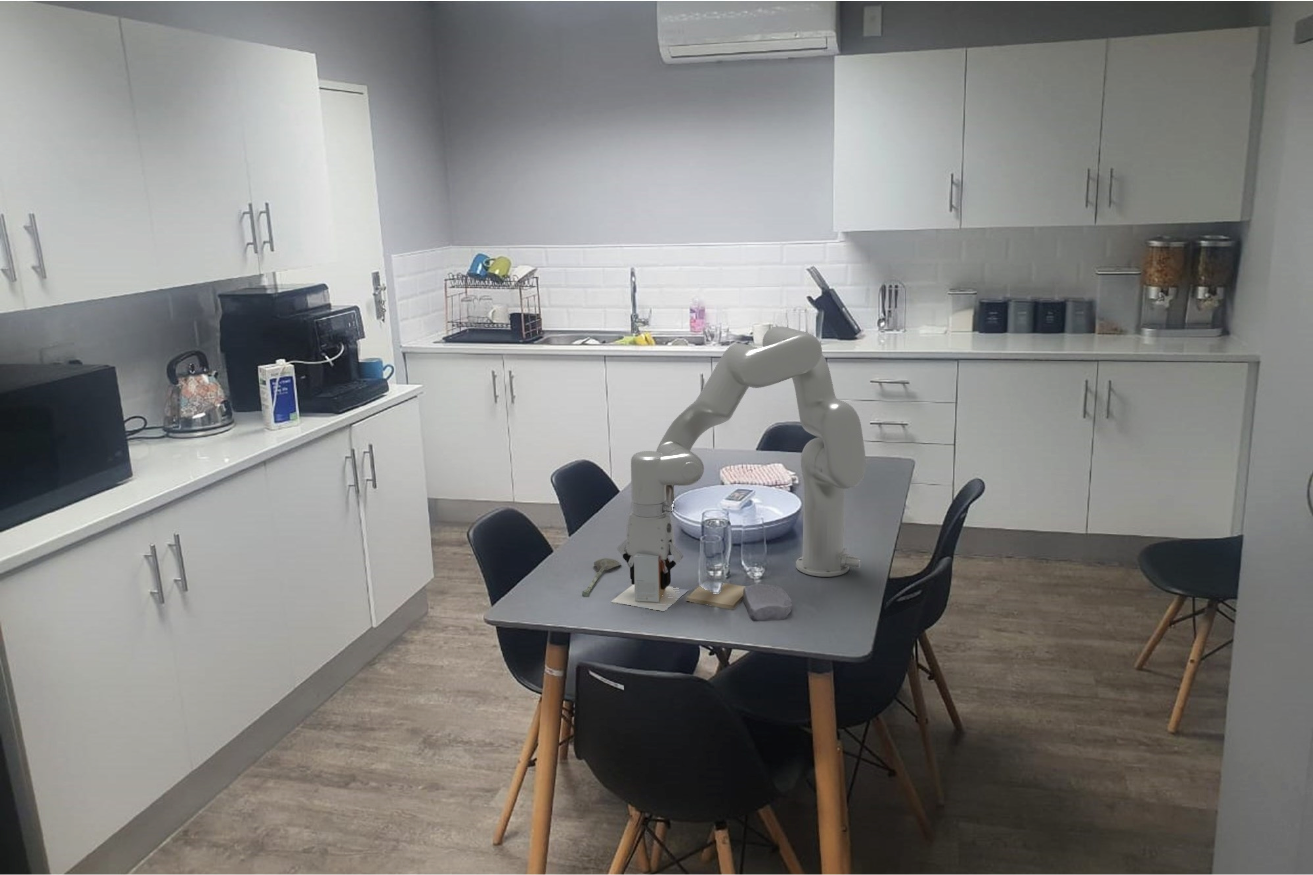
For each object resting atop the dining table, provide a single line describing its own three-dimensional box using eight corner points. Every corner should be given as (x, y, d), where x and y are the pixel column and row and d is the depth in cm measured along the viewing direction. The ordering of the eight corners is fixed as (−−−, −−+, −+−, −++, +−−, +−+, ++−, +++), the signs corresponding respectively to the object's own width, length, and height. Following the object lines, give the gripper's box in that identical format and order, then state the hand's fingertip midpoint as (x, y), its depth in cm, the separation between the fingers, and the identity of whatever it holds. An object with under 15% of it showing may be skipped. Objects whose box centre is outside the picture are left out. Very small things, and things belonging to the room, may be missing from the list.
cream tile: (689, 590, 223) (689, 589, 223) (664, 612, 211) (664, 611, 211) (637, 581, 228) (637, 580, 228) (611, 602, 217) (611, 601, 217)
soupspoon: (624, 567, 241) (598, 566, 242) (623, 553, 240) (598, 553, 242) (599, 598, 220) (571, 597, 221) (598, 584, 219) (570, 583, 221)
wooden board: (750, 591, 221) (750, 587, 221) (732, 609, 212) (732, 605, 212) (705, 584, 226) (705, 579, 226) (686, 601, 217) (686, 597, 216)
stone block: (782, 605, 219) (738, 599, 217) (786, 585, 218) (743, 579, 216) (794, 629, 207) (748, 623, 206) (799, 609, 206) (753, 602, 205)
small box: (659, 603, 215) (658, 557, 213) (634, 601, 216) (633, 556, 214) (666, 589, 223) (665, 545, 220) (642, 587, 224) (641, 543, 222)
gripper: (692, 508, 214) (692, 584, 219) (621, 498, 222) (623, 573, 226) (678, 518, 208) (678, 597, 212) (605, 508, 215) (608, 584, 219)
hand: (650, 584), depth 219 cm, fingers closed on small box, 6 cm apart
